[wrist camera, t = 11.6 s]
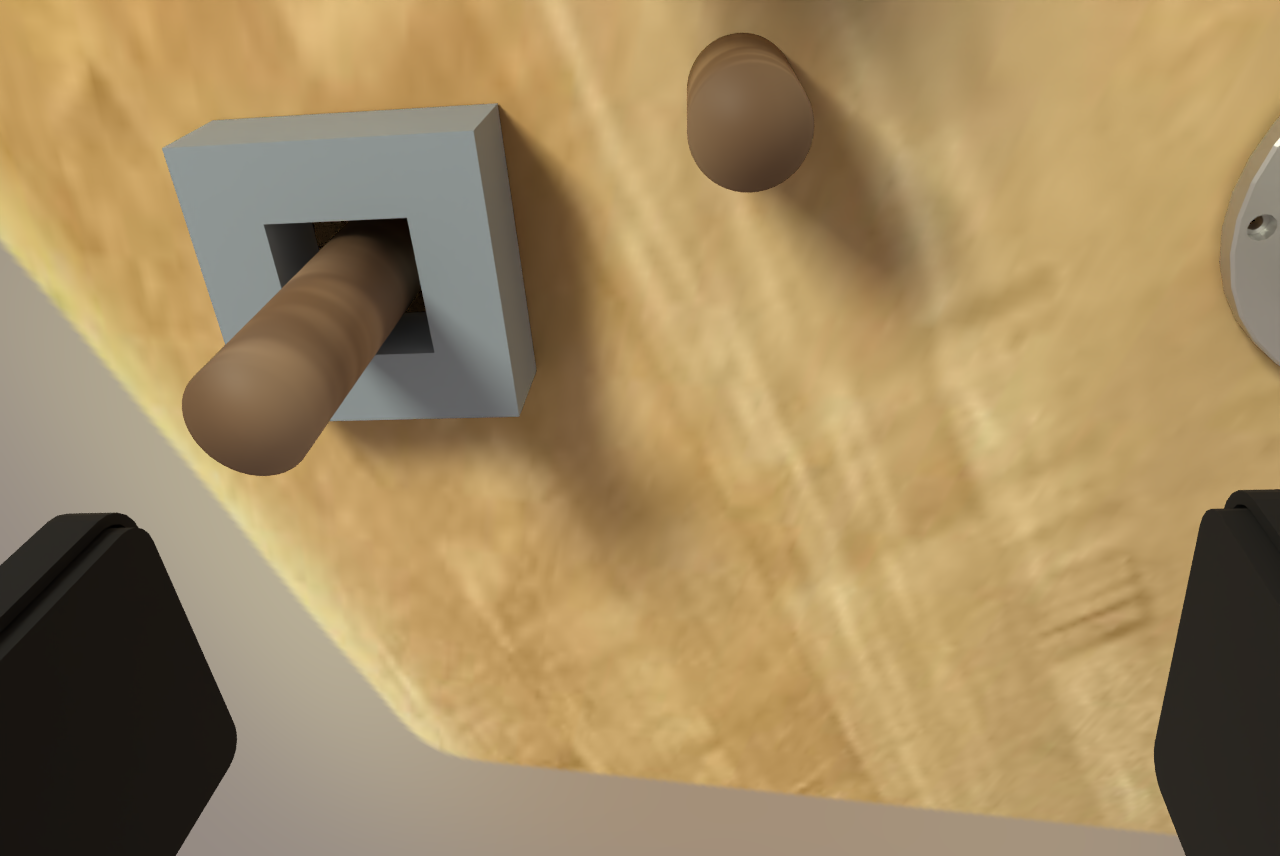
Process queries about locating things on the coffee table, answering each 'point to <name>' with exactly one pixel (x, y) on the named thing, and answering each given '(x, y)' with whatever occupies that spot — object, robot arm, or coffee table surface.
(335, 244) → the tall dowel
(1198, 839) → the robot arm
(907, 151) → the coffee table surface
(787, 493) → the coffee table surface
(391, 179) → the hole block
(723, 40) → the short dowel
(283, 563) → the coffee table surface
